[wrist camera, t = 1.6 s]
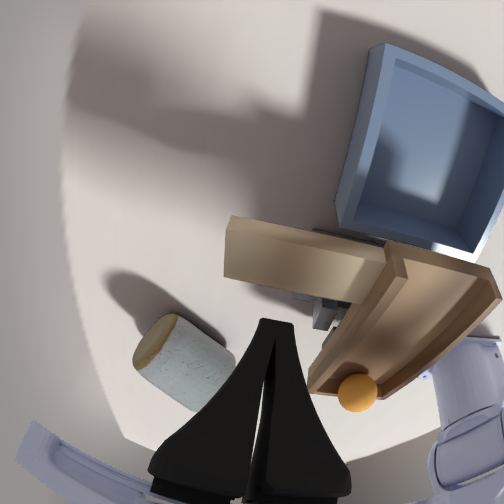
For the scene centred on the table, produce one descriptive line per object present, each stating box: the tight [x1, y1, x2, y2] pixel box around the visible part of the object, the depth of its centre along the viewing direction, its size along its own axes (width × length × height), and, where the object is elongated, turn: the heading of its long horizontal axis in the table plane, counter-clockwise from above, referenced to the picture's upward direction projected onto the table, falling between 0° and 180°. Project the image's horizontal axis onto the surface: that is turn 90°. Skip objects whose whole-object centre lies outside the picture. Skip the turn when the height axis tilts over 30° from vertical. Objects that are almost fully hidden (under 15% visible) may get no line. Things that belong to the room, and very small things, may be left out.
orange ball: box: [338, 374, 377, 412], centre depth 18 cm, size 3×3×3 cm
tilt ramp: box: [224, 216, 503, 400], centre depth 17 cm, size 14×14×5 cm
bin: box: [334, 43, 504, 263], centre depth 13 cm, size 10×10×4 cm
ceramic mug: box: [132, 314, 236, 412], centre depth 27 cm, size 11×8×8 cm
